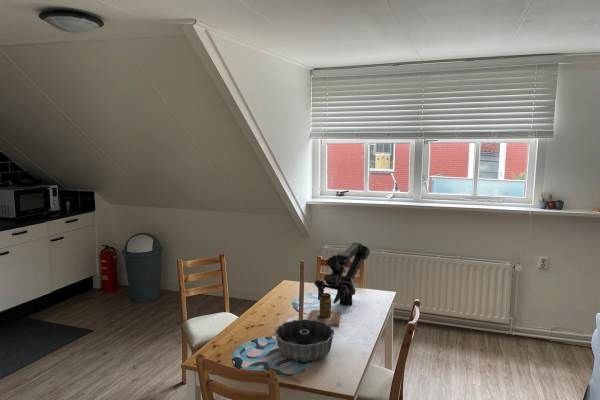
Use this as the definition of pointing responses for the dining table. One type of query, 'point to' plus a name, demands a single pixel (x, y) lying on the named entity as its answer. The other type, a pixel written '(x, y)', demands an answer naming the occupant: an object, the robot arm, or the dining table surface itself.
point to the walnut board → (333, 322)
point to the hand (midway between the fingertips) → (326, 301)
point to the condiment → (325, 307)
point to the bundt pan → (304, 339)
